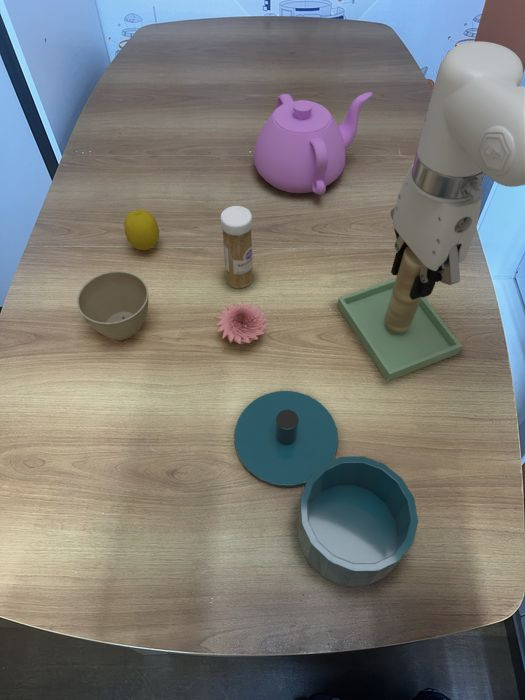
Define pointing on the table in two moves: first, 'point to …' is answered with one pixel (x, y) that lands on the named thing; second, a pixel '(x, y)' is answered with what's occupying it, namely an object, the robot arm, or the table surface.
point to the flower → (242, 323)
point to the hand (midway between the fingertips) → (410, 282)
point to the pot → (355, 520)
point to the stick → (403, 294)
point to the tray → (397, 347)
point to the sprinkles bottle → (237, 245)
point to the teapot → (304, 145)
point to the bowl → (114, 303)
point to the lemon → (141, 229)
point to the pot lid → (285, 437)
